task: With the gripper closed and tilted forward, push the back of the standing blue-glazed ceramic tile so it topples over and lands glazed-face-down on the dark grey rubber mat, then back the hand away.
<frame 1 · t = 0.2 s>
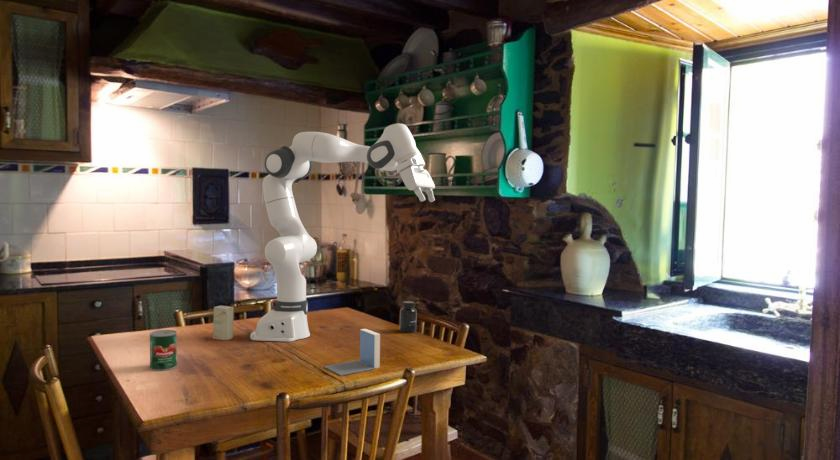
hand: (428, 201, 208), 54 cm above the table, fingers open, 8 cm apart
mat: (348, 368, 191), on the table
canned tomato: (163, 367, 190), on the table
skincare box: (223, 339, 227), on the table
tile: (369, 364, 196), on the table
supplement bottle: (408, 331, 244), on the table
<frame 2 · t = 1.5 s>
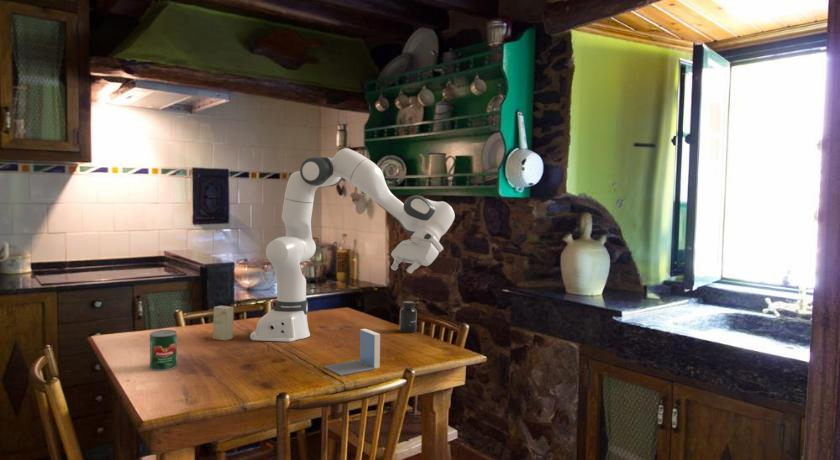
hand: (400, 270, 205), 30 cm above the table, fingers open, 8 cm apart
nothing on the table moved.
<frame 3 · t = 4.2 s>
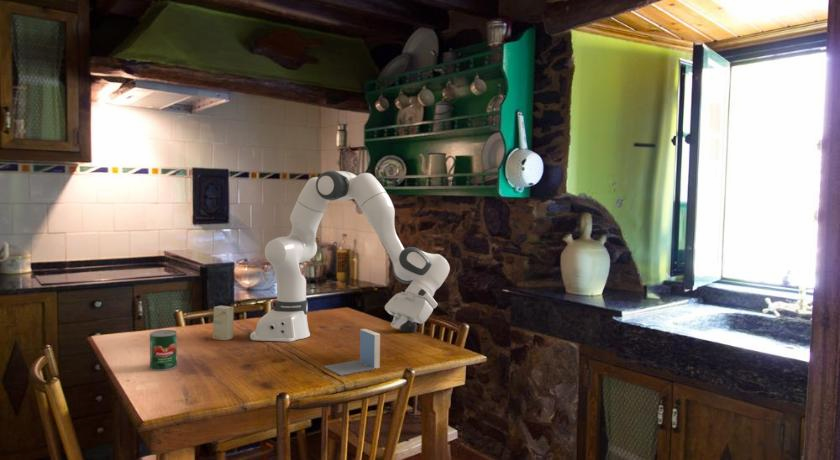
hand: (393, 326, 201), 11 cm above the table, fingers closed
nothing on the table moved.
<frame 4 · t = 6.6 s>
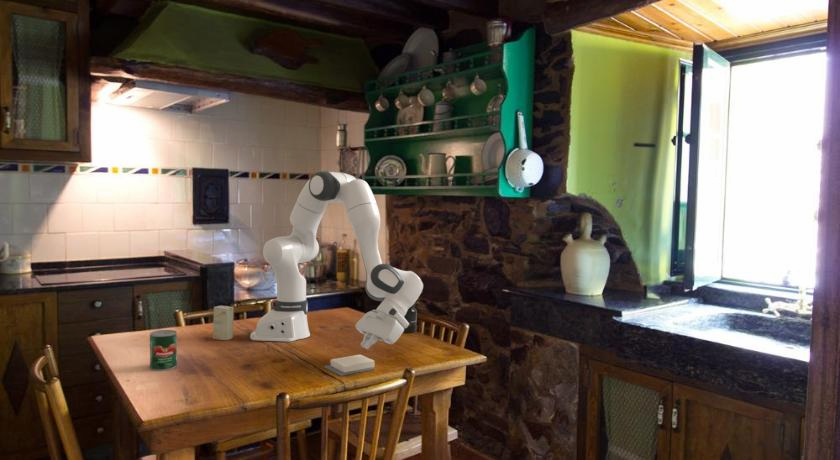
hand: (363, 347, 194), 6 cm above the table, fingers closed
tile: (367, 360, 195), point 1 cm above the table, tilted 90°, touching mat
everything else where it was.
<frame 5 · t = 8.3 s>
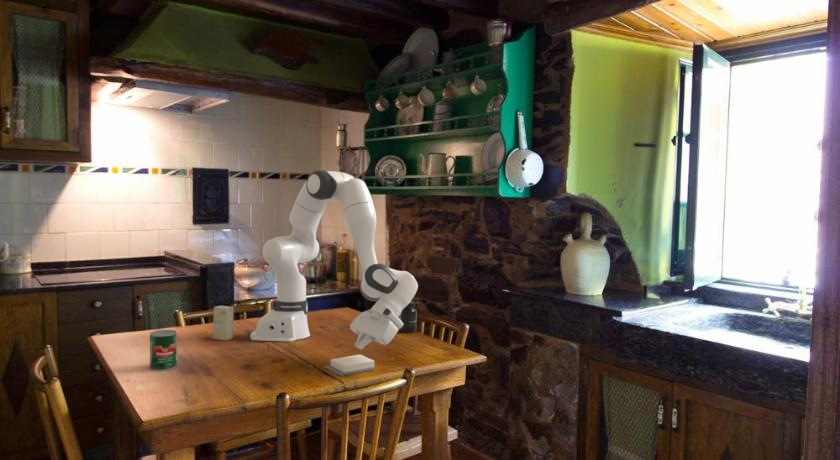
hand: (357, 347, 193), 6 cm above the table, fingers closed
nothing on the table moved.
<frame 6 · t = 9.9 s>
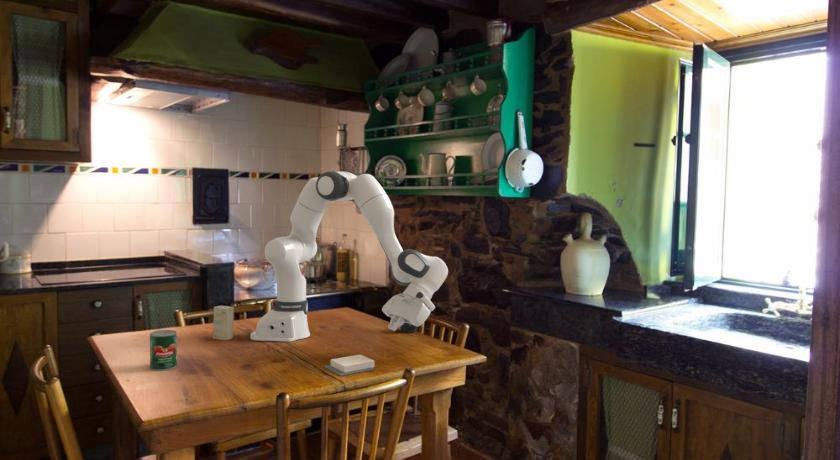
hand: (390, 328, 201), 11 cm above the table, fingers closed
nothing on the table moved.
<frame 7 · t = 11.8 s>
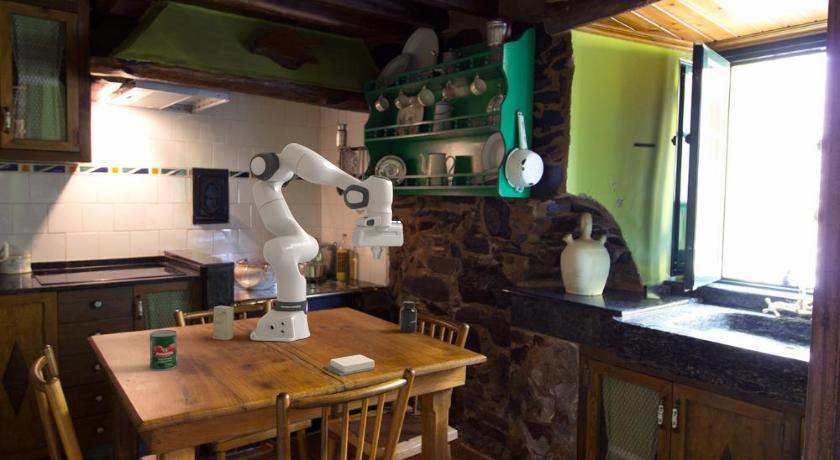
hand: (377, 259, 216), 32 cm above the table, fingers closed
nothing on the table moved.
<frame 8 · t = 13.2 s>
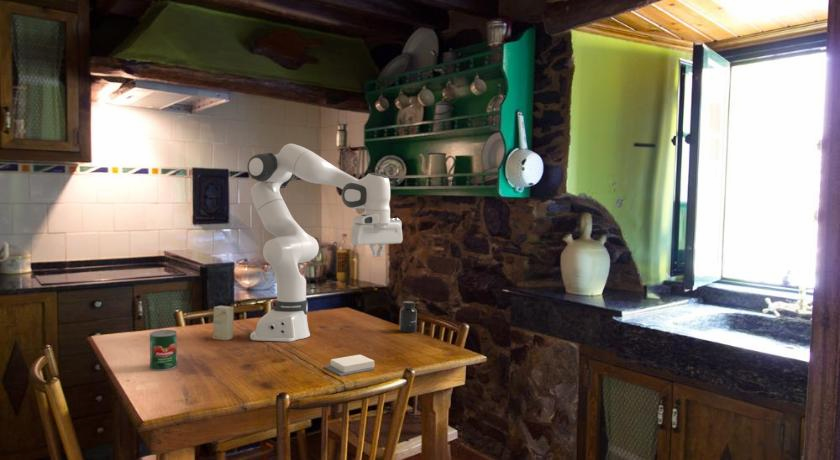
hand: (377, 256, 216), 33 cm above the table, fingers closed
nothing on the table moved.
at the end: tile tilted 90°; tile 6.8 cm from the mat (horizontally); tile point 1.5 cm above the table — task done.
